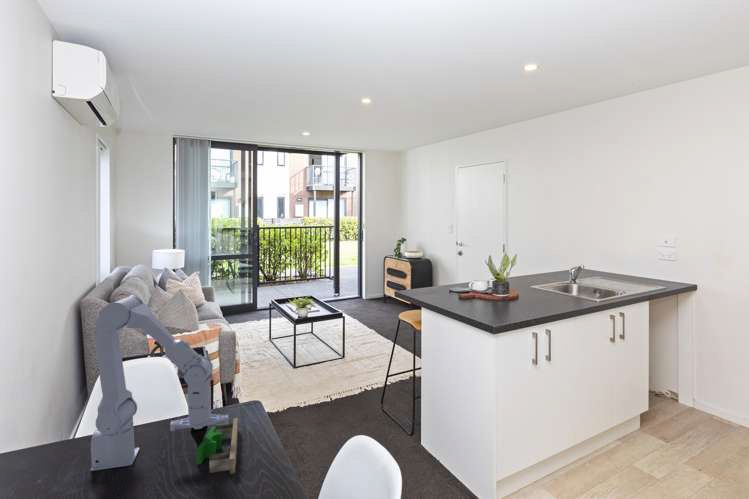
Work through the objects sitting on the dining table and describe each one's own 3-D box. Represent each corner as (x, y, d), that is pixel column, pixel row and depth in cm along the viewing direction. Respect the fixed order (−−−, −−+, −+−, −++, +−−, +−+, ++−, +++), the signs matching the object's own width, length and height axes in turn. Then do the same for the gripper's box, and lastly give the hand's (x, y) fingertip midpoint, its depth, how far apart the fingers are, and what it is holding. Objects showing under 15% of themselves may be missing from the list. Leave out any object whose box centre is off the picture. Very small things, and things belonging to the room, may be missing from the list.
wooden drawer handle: (208, 477, 103) (208, 461, 103) (216, 433, 124) (216, 420, 124) (234, 473, 105) (234, 457, 104) (238, 430, 126) (237, 417, 125)
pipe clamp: (210, 465, 108) (211, 449, 108) (196, 464, 108) (197, 448, 108) (224, 441, 120) (225, 426, 119) (211, 441, 119) (212, 426, 119)
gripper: (167, 413, 106) (168, 464, 107) (226, 407, 110) (227, 455, 111) (172, 401, 112) (173, 449, 114) (228, 396, 117) (229, 442, 118)
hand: (200, 451), depth 113 cm, fingers closed, pressing on pipe clamp
